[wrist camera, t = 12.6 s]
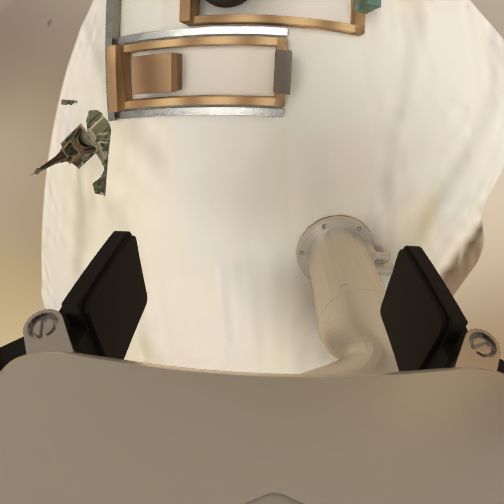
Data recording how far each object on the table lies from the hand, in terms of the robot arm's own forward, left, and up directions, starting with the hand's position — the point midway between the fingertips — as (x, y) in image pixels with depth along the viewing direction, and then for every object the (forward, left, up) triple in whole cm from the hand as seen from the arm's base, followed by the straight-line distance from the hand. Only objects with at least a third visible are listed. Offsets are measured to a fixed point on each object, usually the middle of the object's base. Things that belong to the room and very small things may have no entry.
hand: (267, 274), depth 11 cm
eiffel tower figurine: (+28, +4, -35) cm, 45 cm away
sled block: (+9, -7, -34) cm, 36 cm away
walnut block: (+14, -7, -34) cm, 38 cm away
